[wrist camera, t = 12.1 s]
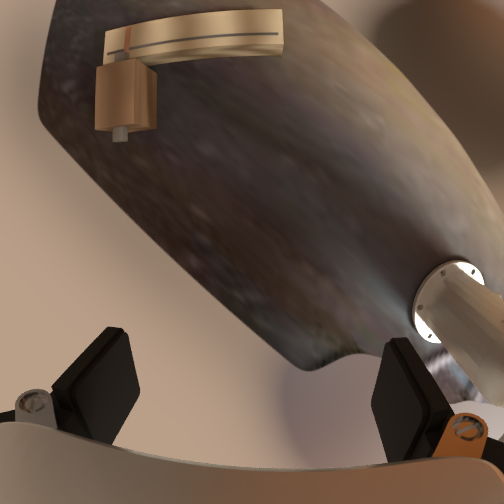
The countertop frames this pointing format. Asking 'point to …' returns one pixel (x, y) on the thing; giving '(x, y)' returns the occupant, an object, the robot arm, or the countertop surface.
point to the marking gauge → (125, 97)
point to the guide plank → (199, 37)
